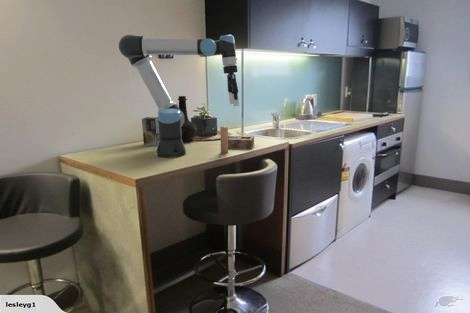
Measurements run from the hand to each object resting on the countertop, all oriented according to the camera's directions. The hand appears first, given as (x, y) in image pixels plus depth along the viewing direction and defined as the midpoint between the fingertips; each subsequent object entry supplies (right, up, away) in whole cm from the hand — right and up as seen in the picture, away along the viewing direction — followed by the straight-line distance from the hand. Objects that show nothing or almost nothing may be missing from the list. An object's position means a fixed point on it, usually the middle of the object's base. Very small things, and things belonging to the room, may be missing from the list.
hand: (234, 104), depth 190 cm
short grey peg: (-1, -22, +12) cm, 25 cm away
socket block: (+3, -22, +11) cm, 25 cm away
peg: (-5, -27, -5) cm, 28 cm away
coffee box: (-49, -22, +16) cm, 56 cm away
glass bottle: (-33, -19, +28) cm, 47 cm away
